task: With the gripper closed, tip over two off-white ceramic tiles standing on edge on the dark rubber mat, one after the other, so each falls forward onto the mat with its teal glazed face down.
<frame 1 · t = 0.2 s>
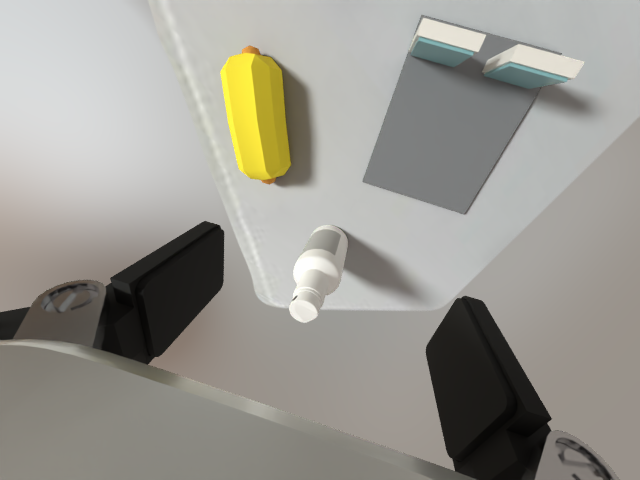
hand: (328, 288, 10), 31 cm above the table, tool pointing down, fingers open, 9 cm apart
mat: (445, 128, 33), on the table
yellow faceted bar: (266, 122, 37), on the table
spray bottle: (329, 241, 44), on the table
tile a: (434, 53, 29), resting on mat
tile b: (509, 74, 29), resting on mat
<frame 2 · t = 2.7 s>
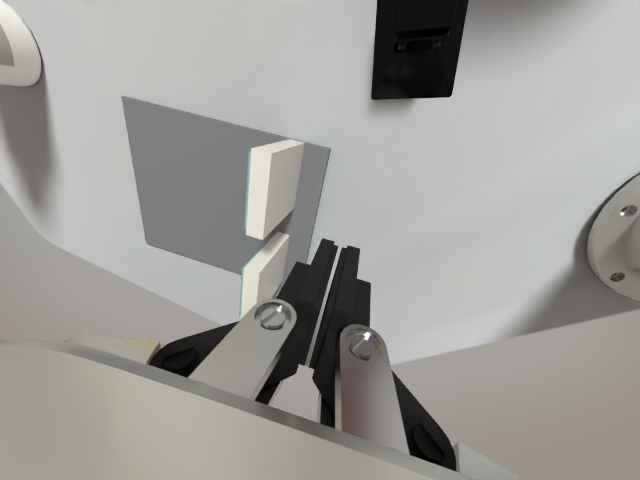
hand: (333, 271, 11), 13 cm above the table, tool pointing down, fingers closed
mat: (222, 204, 26), on the table
black slotted bracket: (418, 17, 16), on the table
spray bottle: (14, 45, 23), on the table
tile a: (290, 175, 22), resting on mat
tile b: (278, 257, 26), resting on mat
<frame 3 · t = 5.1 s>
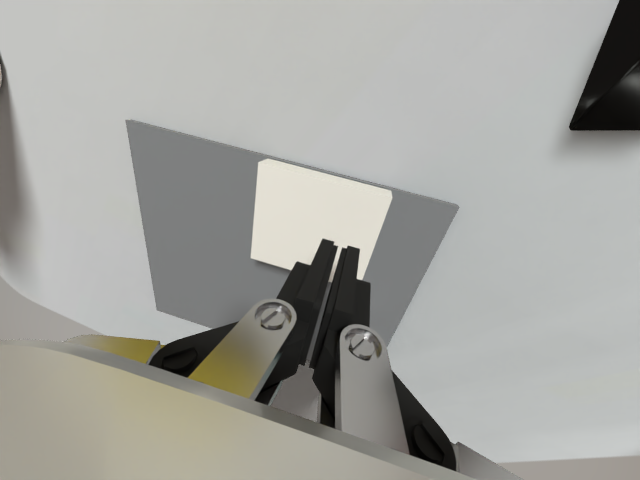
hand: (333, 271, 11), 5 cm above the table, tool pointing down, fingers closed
mat: (270, 269, 18), on the table
tile a: (373, 242, 14), point 1 cm above the table, tilted 90°, touching mat
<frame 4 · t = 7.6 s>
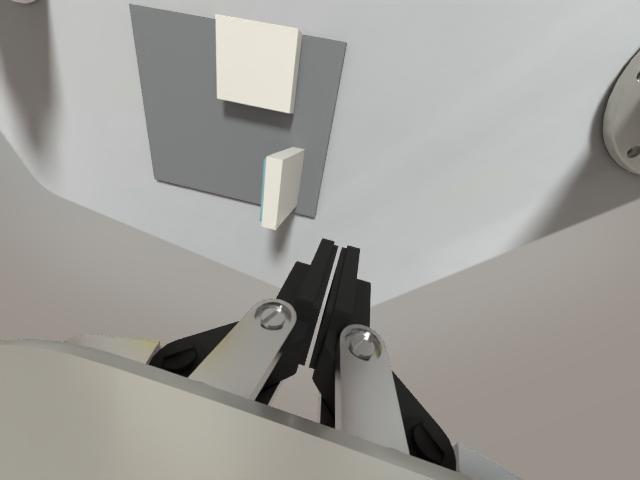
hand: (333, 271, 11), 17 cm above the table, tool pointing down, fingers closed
mat: (234, 123, 25), on the table
tile a: (296, 75, 21), point 1 cm above the table, tilted 90°, touching mat
tile b: (293, 177, 26), resting on mat
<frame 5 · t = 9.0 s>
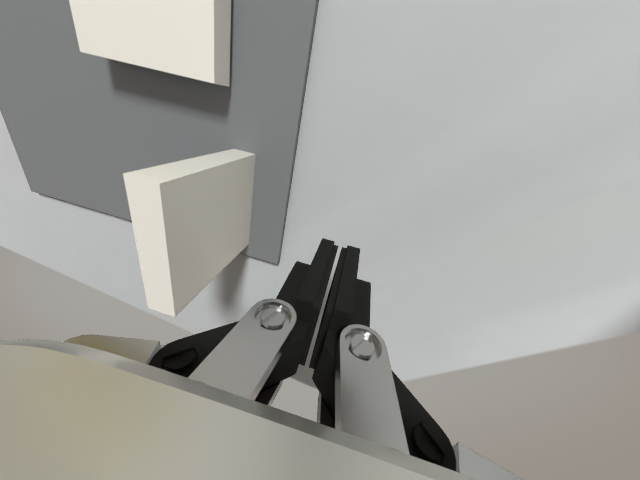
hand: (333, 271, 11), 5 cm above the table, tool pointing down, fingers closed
mat: (135, 103, 14), on the table
tile a: (224, 4, 10), point 1 cm above the table, tilted 90°, touching mat
tile b: (240, 199, 15), resting on mat
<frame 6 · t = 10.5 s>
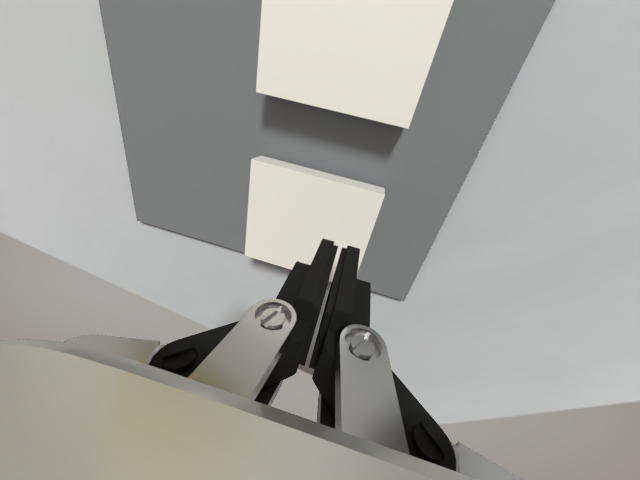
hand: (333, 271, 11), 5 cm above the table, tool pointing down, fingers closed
mat: (280, 138, 14), on the table
tile a: (434, 47, 10), point 1 cm above the table, tilted 90°, touching mat
tile b: (367, 240, 14), point 1 cm above the table, tilted 90°, touching mat
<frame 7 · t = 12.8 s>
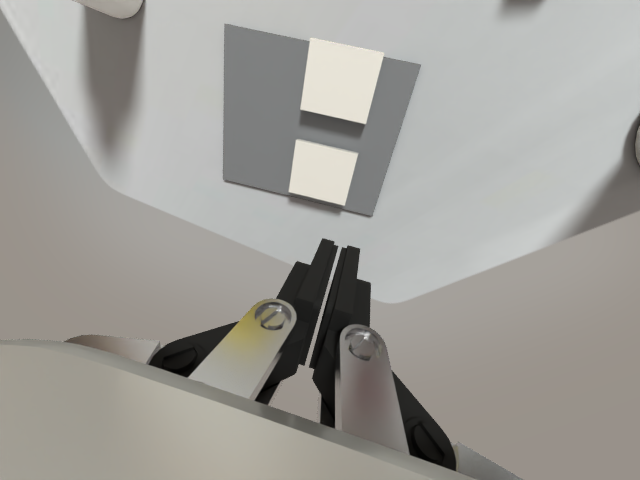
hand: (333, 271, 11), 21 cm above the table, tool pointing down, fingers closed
mat: (307, 130, 28), on the table
tile a: (374, 91, 24), point 1 cm above the table, tilted 90°, touching mat
tile b: (351, 179, 28), point 1 cm above the table, tilted 90°, touching mat
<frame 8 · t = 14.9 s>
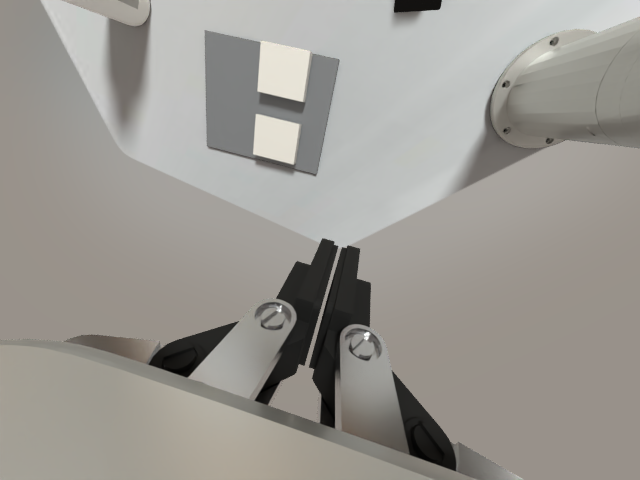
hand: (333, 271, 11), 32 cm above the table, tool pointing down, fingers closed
mat: (265, 108, 38), on the table
tile a: (307, 78, 34), point 1 cm above the table, tilted 90°, touching mat
tile b: (297, 144, 39), point 1 cm above the table, tilted 90°, touching mat
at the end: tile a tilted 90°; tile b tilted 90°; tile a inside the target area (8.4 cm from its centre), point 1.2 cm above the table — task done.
